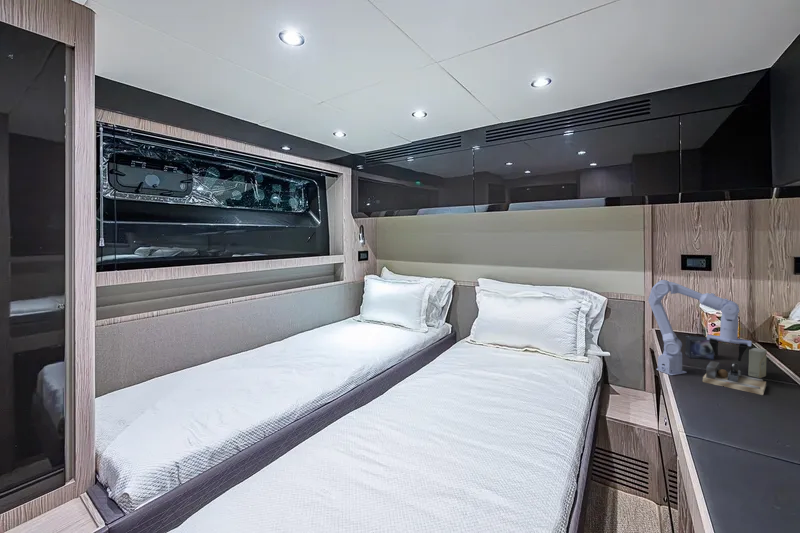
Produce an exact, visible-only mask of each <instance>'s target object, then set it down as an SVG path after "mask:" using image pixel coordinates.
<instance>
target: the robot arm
mask: <svg viewBox="0 0 800 533" xmlns="http://www.w3.org/2000/svg"><path fill="white" fill-rule="evenodd" d="M669 293H670V295H674V294H681V295H683V296H686V297H689V298H692V299H695V300H697V301H699V303H700V304H701V305H703V306H705V307H707V308H710V309H713V310H715V311H721V317H720V326H719V327H720V329H719V330H720V331H719V335H714V334H707V335H706V337H707V340H710V344H711V346H712V348H713V351H714V358H718V356H719V342H721V343H727V344H729V343H730V344H735V345H738V357H737V361H738V362H741V361H742V357H743V355H744V352H746V350H747V349H748V347H752V346H753V345H752V344H753V343H752V342H753V341H752V340H749V339H748V340H747V339H743V338H738V336H739V335H738V334H739V313H740V307H739V304H738V303H737V302H735V301H734V300H729V299H728V298H723V297H720V296H717V295H715V294H716V293H713V292H711V293H710V292H707V293H706V292H705V293H702V292H700V291H696V290H694V289H692V288H690V287H687V286H684V285H682V284H679V283H677V282H674V281H673V282H672V281H669V280H667V279H661V280H658V281H657V282H656V283H655V284H654V285H653V286H652V288H651V290H650V293H649V297H648V298H647V299H648V300H647V301H648V303H649V306H650V308H651V311H652V313H653V316H654V318H655V321H656V324H657V326H658V328H659V331H660V333H661V336H662V341H663V352H662V353H661V354H660V355H658V357H657V368H656V370H657V371H658V372H661V373H664V374H667V375H669V376H675V375H681V374H687V372H688V371H686V370H683V352H682V351H681V350H682V347H683V342H682V340H680V338H678V337H677V334H676V333H675V332H674V329H673V327H672V324H671V322H670V320H669V316H668V315H667V312H666V311H665V308H664V304H663V303H662V300H663V298H664V297H665V296H667V295H669Z"/></svg>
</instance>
